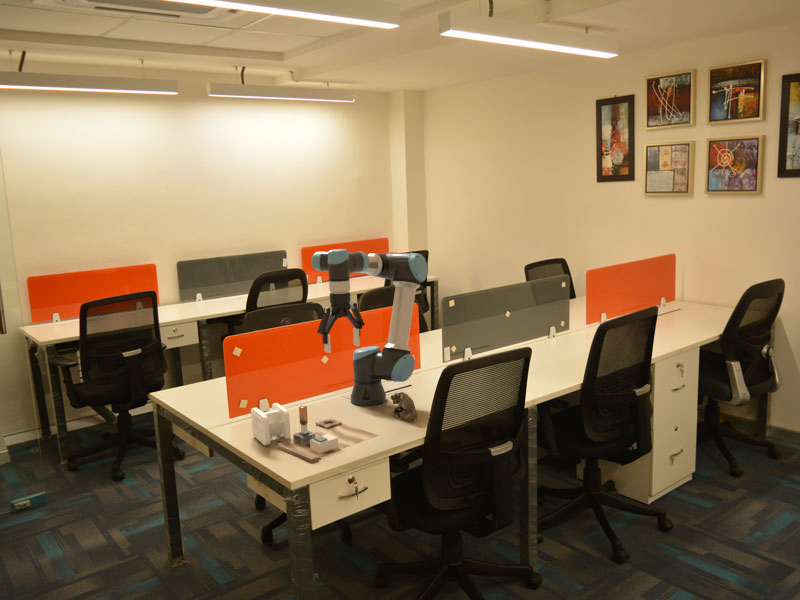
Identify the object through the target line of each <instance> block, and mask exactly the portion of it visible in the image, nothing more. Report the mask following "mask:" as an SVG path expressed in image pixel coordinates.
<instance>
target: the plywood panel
mask: <svg viewBox="0 0 800 600" xmlns="http://www.w3.org/2000/svg"><path fill="white" fill-rule="evenodd" d="M326 434H330V435H333V436H335V437H338V447H337V448H335V449H332V450H329V451H326V452H323V453H317V452H315V451H313V450H310V440H311V439H313V438H315V437H318V436H323V435H326ZM292 436H293V438H292V439H291V440H288V441H285V442H282V443H279V444H277V448H278V449H279V450H282V451H284V452H286V453H289V454H291V455H293V456H296V457H298V458H300V459H301V460H304V461H306V462H309V463H310V464H312V463H316V462H318V461H321V460H323V458H321V457H324V456H325V455H326V456H327V455H328V454H331V453H334V452H337V451H340V450H343V449H345V448H348V447H351V446H353V445H356V444H359V443H361V442H365V441H367V440H370V439H373V438H376V437H379V434H375V433H372V432H370V431H367V430H365V429H362V428H359V427H356V426H353V425H351V424H347V423H346V422H342V424H341V425H338V426H335V427H332V428H329V429H325V428H323V429H322V430H318V431H315V432H312V431H311V430H310V431H309V430H307V435H305V436H301V431H299V432H296V433H293V434H292Z"/></svg>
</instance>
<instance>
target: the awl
mask: <svg viewBox="0 0 800 600" xmlns="http://www.w3.org/2000/svg"><path fill="white" fill-rule="evenodd" d="M298 415H299V424H300V432H301V436H305V435H307V431H308V406H307V405H299V406H298Z"/></svg>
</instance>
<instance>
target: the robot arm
mask: <svg viewBox="0 0 800 600" xmlns="http://www.w3.org/2000/svg"><path fill="white" fill-rule="evenodd" d="M311 267H312V268H313V269H314V270H315V271H317V272H319V271H320V272H328V284H329V286H328V289H329V292H330V293H329V303H330V307H323V314H322V316H321V320H320V323H319V325H318V329H317V332H316V333H317V334H319V335H321V336H322V337H321V338H322V344H324V349H323V350H324V353H327V354H331V353H332V350H331V349H332V347H331V335H330V332H331V330H332V329H333V327H334V324H335V323H336V321H337V320H338V319H342V318H347V320H348V321H349V322H350V323H351V324H352V326H353V328H352V338H353V339H352V340H353V341H352V342H353V346H355V347H360V346H361V344H360V343H361V342H360V337H361V329H363V327H364V326H365V322H364V320H363V318H362V315H361V313H360V311H359V309H358V304H357V302H351V301H352V300H351V293H350V291H351V281H350V280H351V279H350V274H366V275H367V276H370V277H375V278H380V279H385V280H392V284H393V285H394V287H395V288H394V289H395V290H394V295H393V303H392V309H391V316H390V317H391V318H390V324H389V330H388V336H387V342H386V344H385V345H383V347H382V351H381V347H380V346H378V345H371V346H365V347H360V348H357V349H355V350H354V351H353V352H352V366H353V367H352V368H353V387H352V390H351V394H350V403H351V404H352V405H356V406H364V407H367V406H377V405H380V404H383V403H384V402H386V400H387V394H386V392H385V389H384V386H383V384H382V381H383V380H384V381H390V382H395V383H397V382H399V383H403V382H407V381H408V380H409V379H410V378H411V377H412V375H413V373H414V370H415V363H416V362H415V357H414V356H413V355H411V353H412V351H411V350H412V349H410V347H409V341H410V335H411V334H410V332H411V327H412V319H413V314H414V313H413V311H414V305H415V298H416V291H417V290H418V289H419V288H420V287H421V284H422V282H424V281H426V279H427V277H428V272H429V271H428V270H429V268H428V263H427V261H426V258H425V257H424V256H423V255H422V254H421V253H416V252H415V253H414V252H391V251H390V252H383V253H369V254H367V253H366V252H364V251H352V252H351V251H349V250H348V249H346V248H344V249H343V248H336V249H335V248H334V249H330V250H329V251H316V252H314V254H312V256H311ZM350 310H351V311H350Z"/></svg>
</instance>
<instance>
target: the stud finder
mask: <svg viewBox="0 0 800 600" xmlns="http://www.w3.org/2000/svg"><path fill="white" fill-rule="evenodd" d="M337 447H338V437H335V436H333V435H330V434H326V435H323V436H318V437H315V438H313V439H311V440H310V450H313V451H315V452H317V453H323V452H326V451H329V450H332V449H335V448H337Z"/></svg>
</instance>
